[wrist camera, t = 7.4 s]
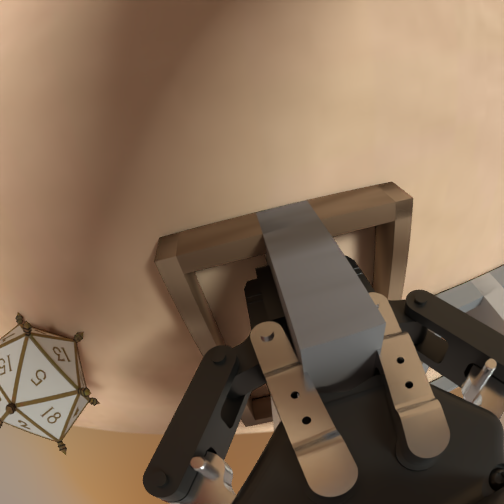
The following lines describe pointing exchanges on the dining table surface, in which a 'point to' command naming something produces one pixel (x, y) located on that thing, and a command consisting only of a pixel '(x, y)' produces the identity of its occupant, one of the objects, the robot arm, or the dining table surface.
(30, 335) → the game die
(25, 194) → the dining table surface
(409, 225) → the wooden picture frame
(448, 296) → the grey hollow rectangular frame
